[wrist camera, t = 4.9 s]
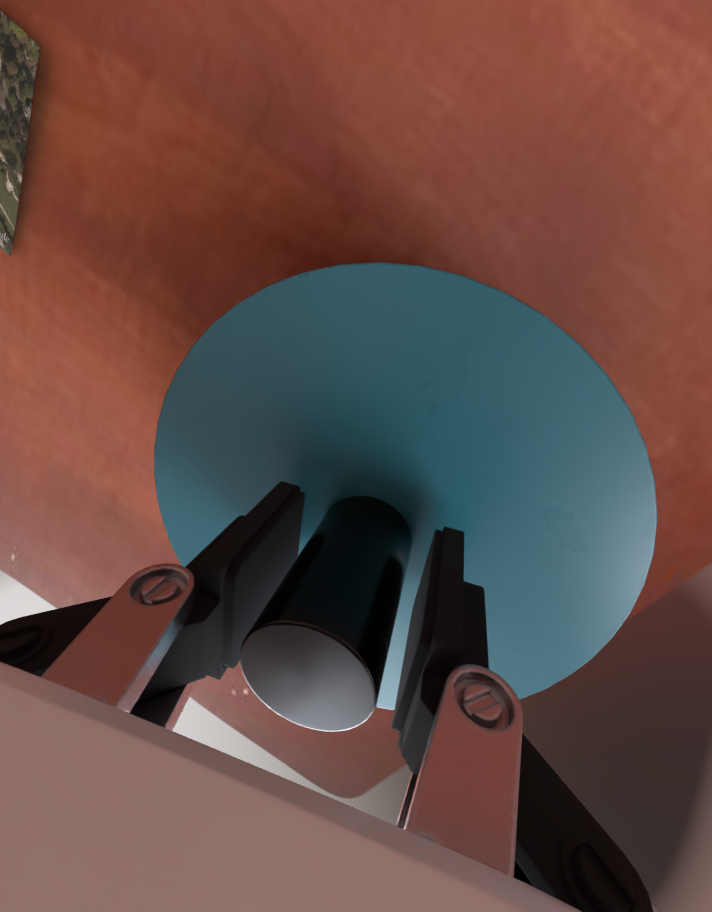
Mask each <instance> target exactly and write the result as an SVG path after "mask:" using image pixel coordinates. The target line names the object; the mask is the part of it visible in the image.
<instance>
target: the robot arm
mask: <svg viewBox="0 0 712 912" xmlns="http://www.w3.org/2000/svg"><path fill="white" fill-rule="evenodd" d="M304 501H305V493H304V492H301V491H300V487H299V486H298V485H294V484H290V483H287V482H283V481H281V482H279V483H278V484H277V485H276V486H275V487H274V488H273V489H272V490H271V491H270V492H269V493H268V494H267V495H266V496H265V497H264V498H263V499H262V500H261V501H260V502H259V503H258V504H257V505H256V506H255V507H254V508H253V509H252V510H251V511H250V512H249V513H248V514H247V515H240V516H238V517H237V518H236V519H235V520H234V521H233V522H232V523H231V524H229V525H228V526H227V527H226V528H225V529H224V530H223V531H222V532H221V533H220V534H219V535H218V536H217V537H216V538H215V539H214V540H213V541H212V542H211V543H210V544H208V545H207V546H206V547H205V548H204V549H203V550H202V551H201V552H200V553H199V554H198V555H197V556H196V557H195V558H194V559H193V560H192V561H191V562H190V563H189V564H188V565H186V566H185V567H183V566H180V565H177V564H158V565H153V566H150V567H147V568H144V569H142V570H140V571H138V572H137V573H135V574H134V575H133V576H131V577H130V578H129V579H128V580H127V581H126V582H125V583H124V584H123V585H122V587H121V588H120V589H119V590H118V591H117V592H116V593H115V594H114V595H113V596H112V597H108V598H103V599H99V600H94V601H90V602H86V603H81V604H77V605H73V606H68V607H64V608H59V609H55V610H51V611H46V612H42V613H38V614H33V615H29V616H25V617H21V618H17V619H14V620H11V621H8V622H5V623H3V624H1V625H0V912H660V911H659V910H658V909H657V908H656V907H655V906H654V905H653V904H652V903H651V902H650V898H649V895H648V892H647V890H646V888H645V886H644V885H643V883H642V881H641V879H640V877H639V875H638V873H637V871H636V870H635V868H634V867H633V866H632V864H631V863H630V862H629V860H628V859H627V857H626V856H625V855H624V853H623V852H622V851H621V850H620V848H618V846H617V845H616V844H615V843H614V842H613V840H612V839H611V838H610V837H609V835H608V834H607V833H606V832H605V831H604V830H603V828H602V827H601V826H600V825H599V824H598V822H597V821H596V820H595V819H594V818H593V816H592V815H591V814H590V813H589V812H588V811H587V809H586V808H585V807H584V806H583V805H582V804H581V802H580V801H579V800H578V799H577V797H576V796H575V795H574V794H573V793H572V792H571V790H570V789H569V788H568V787H567V786H566V784H565V783H564V782H563V781H562V780H561V779H560V777H559V776H558V775H557V774H556V773H555V771H554V770H553V769H552V768H551V767H550V765H549V764H548V763H547V762H546V761H545V760H544V758H543V757H542V756H541V755H540V754H539V752H537V750H536V749H535V748H534V747H533V745H532V744H531V743H530V742H529V741H528V739H527V738H526V737H525V736H524V735H523V733H522V727H523V714H522V706H521V704H520V702H519V699H518V697H517V695H516V693H515V692H514V691H513V689H512V688H511V686H510V685H509V684H508V683H507V682H506V681H505V680H504V679H503V678H502V677H501V676H499V675H498V674H496V673H495V672H493V671H491V670H490V669H489V659H488V642H487V625H486V608H485V592H484V588H483V587H482V586H478V585H475V584H472V583H468V582H465V581H464V531H460V530H456V529H453V528H449V527H445V526H444V528H443V531H441V530H437V529H436V530H435V532H434V535H433V539H432V542H431V546H430V549H429V553H428V556H427V560H426V563H425V566H424V570H423V573H422V577H421V580H420V584H419V587H418V590H417V594H416V597H415V601H414V605H413V609H412V614H411V619H410V625H409V631H408V636H407V642H406V648H405V653H404V659H403V665H402V670H401V676H400V682H399V687H398V693H397V699H396V704H395V710H394V716H393V721H392V729H394V730H397V731H399V732H400V734H399V740H398V746H397V748H398V749H401V754H402V756H403V758H404V759H405V761H406V763H407V764H408V766H409V768H410V770H411V771H412V773H411V776H410V780H409V783H408V787H407V790H406V793H405V798H404V801H403V804H402V807H401V810H400V814H399V817H398V821H397V824H396V826H395V825H393V824H390V823H388V822H386V821H383V820H381V819H379V818H376V817H374V816H372V815H369V814H367V813H365V812H362V811H360V810H358V809H355V808H353V807H351V806H348V805H346V804H344V803H341V802H339V801H337V800H334V799H332V798H329V797H327V796H325V795H323V794H320V793H318V792H316V791H313V790H311V789H309V788H306V787H304V786H301V785H299V784H297V783H294V782H292V781H289V780H287V779H285V778H282V777H280V776H278V775H275V774H273V773H271V772H268V771H266V770H263V769H261V768H259V767H256V766H254V765H252V764H249V763H247V762H244V761H242V760H240V759H237V758H235V757H233V756H230V755H228V754H225V753H223V752H221V751H218V750H216V749H214V748H211V747H209V746H206V745H204V744H202V743H199V742H197V741H194V740H192V739H189V738H187V737H185V736H183V735H180V734H177V733H175V732H173V731H172V730H173V728H174V726H175V724H176V722H177V720H178V718H179V716H180V714H181V712H182V710H183V708H184V706H185V704H186V702H187V700H188V698H189V696H190V694H191V692H192V690H193V688H194V685H195V682H196V681H197V680H199V679H202V678H205V677H206V675H208V676H211V677H213V678H216V679H219V680H220V679H221V677H222V676H223V674H224V673H225V671H226V669H227V668H228V667H230V668H232V669H233V668H234V667H235V666H236V665H237V664H238V662H239V661H240V651H241V646H242V643H243V640H244V639H245V637H246V635H247V634H248V632H249V631H250V629H251V628H252V626H253V625H254V623H255V621H256V620H257V618H258V617H259V615H260V614H261V612H262V611H263V609H264V608H265V606H266V605H267V603H268V602H269V600H270V599H271V597H272V595H273V594H274V592H275V591H276V589H277V588H278V586H279V585H280V583H281V582H282V580H283V579H284V577H285V576H286V574H287V573H288V571H289V569H290V568H291V566H292V565H293V563H294V562H295V560H296V559H297V557H298V551H299V543H300V534H301V526H302V517H303V509H304Z"/></svg>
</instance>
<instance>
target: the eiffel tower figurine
mask: <svg viewBox="0 0 712 912" xmlns="http://www.w3.org/2000/svg"><path fill="white" fill-rule="evenodd" d="M39 51H40V45H39V44H38V43H37V42H36V41H34V40H33V39H32V38H31V37H30V36H29V35H28V34H27V33H26V32H24V31H23V30H22V29H21V28H20V27H19V26H18V25H17V24H16V23H14V22H13V21H12V20H11V19H10V18H9V17H8V16H6V15H5V14H4V13H3V12H2V11H1V10H0V248H1V249H3V250H4V251H5V252H7V253H8V254H9V255H10V256H11V250H12V244H13V237H14V231H15V225H16V219H17V212H18V205H19V198H20V190H21V183H22V176H23V169H24V162H25V155H26V147H27V140H28V131H29V123H30V115H31V107H32V98H33V90H34V83H35V75H36V69H37V63H38V57H39Z"/></svg>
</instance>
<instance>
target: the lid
mask: <svg viewBox="0 0 712 912" xmlns="http://www.w3.org/2000/svg"><path fill="white" fill-rule="evenodd" d="M154 475H155V483H156V491H157V499H158V503H159V507H160V511H161V515H162V519H163V523H164V526H165V529H166V531H167V534H168V537H169V539H170V542H171V545H172V547H173V549H174V551H175V553H176V555H177V557H178V559H179V561H180V563H181V565H182V566H183V567H185V566H186V565H188V564H189V563H190V562H191V561H192V560H193V559H194V558H195V557H196V556H197V555H198V554H199V553H200V552H201V551H202V550H203V549H204V548H205V547H206V546H207V545H208V544H210V543H211V542H212V541H213V540H214V539H215V538H216V537H217V536H218V535H219V534H220V533H221V532H222V531H223V530H224V529H225V528H226V527H227V526H228V525H229V524H231V523H232V522H233V521H234V520H235V519H236V518H237V517H238V516H240V515H247V514H248V513H249V512H250V511H251V510H252V509H253V508H254V507H255V506H256V505H257V504H258V503H259V502H260V501H261V500H262V499H263V498H264V497H265V496H266V495H267V494H268V493H269V492H270V491H271V490H272V489H273V488H274V487H275V486H276V485H277V484H278V483H279V482H281V481H283V482H287V483H290V484H294V485H298V486H299V487H300V491H301V492H304V493H305V501H304V509H303V517H302V526H301V534H300V543H299V551H298V557H297V559H296V560H295V562H294V563H293V565H292V566H291V568H290V569H289V571H288V573H287V574H286V576H285V577H284V579H283V580H282V582H281V583H280V585H279V586H278V588H277V589H276V591H275V592H274V594H273V595H272V597H271V599H270V600H269V602H268V603H267V605H266V606H265V608H264V609H263V611H262V612H261V614H260V615H259V617H258V618H257V620H256V621H255V623H254V625H253V626H252V628H251V629H250V631H249V632H248V634H247V635H246V637H245V639H244V640H243V643H242V646H241V651H240V664H241V669H242V672H243V675H244V677H245V679H246V681H247V683H248V685H249V686H250V688H251V689H252V690H253V692H254V693H255V694H256V695H257V696H258V698H259V699H260V700H261V701H262V702H263V703H265V704H266V705H267V706H268V707H269V708H270V709H272V710H273V711H274V712H276V713H277V714H279V715H281V716H282V717H284V718H286V719H288V720H290V721H292V722H294V723H296V724H298V725H301V726H304V727H307V728H311V729H315V730H321V731H343V730H348V729H351V728H354V727H357V726H359V725H360V724H362V723H363V722H365V721H366V720H367V719H368V718H369V717H370V716H371V714H372V713H373V711H374V710H375V707H380V708H384V709H391V710H395V704H396V699H397V693H398V687H399V682H400V676H401V670H402V665H403V659H404V653H405V648H406V642H407V636H408V631H409V625H410V619H411V614H412V609H413V605H414V601H415V597H416V594H417V590H418V587H419V584H420V580H421V577H422V573H423V570H424V566H425V563H426V560H427V556H428V553H429V549H430V546H431V542H432V539H433V535H434V532H435V530H436V529H437V530H441V531H443V528H444V526H445V527H449V528H453V529H456V530H460V531H464V581H465V582H468V583H472V584H475V585H478V586H482V587H483V588H484V592H485V608H486V625H487V642H488V659H489V669H490V670H491V671H493V672H495V673H496V674H498V675H499V676H501V677H502V678H503V679H504V680H505V681H506V682H507V683H508V684H509V685H510V686H511V688H512V689H513V691H514V692H515V693H516V695H517V697H518V699H522V698H524V697H527V696H529V695H532V694H534V693H537V692H539V691H542V690H544V689H546V688H548V687H549V686H551V685H553V684H555V683H557V682H558V681H560V680H562V679H564V678H566V677H567V676H569V675H570V674H572V673H573V672H574V671H576V670H577V669H578V668H580V667H581V666H582V665H584V664H585V663H586V662H588V661H589V660H590V659H592V658H593V657H594V656H595V655H596V654H597V653H598V652H599V651H600V650H601V649H602V648H603V646H605V645H606V644H607V643H608V641H610V639H612V638H613V636H614V635H615V633H616V632H617V631H618V629H619V628H620V626H621V625H622V624H623V622H624V621H625V620H626V618H627V617H628V615H629V614H630V613H631V611H632V609H633V607H634V605H635V602H636V600H637V598H638V596H639V594H640V592H641V590H642V588H643V586H644V584H645V581H646V577H647V574H648V571H649V567H650V564H651V560H652V557H653V554H654V546H655V537H656V528H657V519H658V518H657V503H656V488H655V480H654V476H653V472H652V468H651V464H650V459H649V455H648V451H647V447H646V444H645V442H644V440H643V437H642V435H641V433H640V431H639V428H638V426H637V424H636V421H635V419H634V417H633V415H632V412H631V410H630V408H629V407H628V405H627V404H626V402H625V401H624V399H623V397H622V396H621V394H620V393H619V391H618V390H617V388H616V387H615V385H614V384H613V382H612V381H611V379H610V378H609V376H608V374H607V373H606V372H605V371H604V370H603V369H602V368H601V367H600V366H599V365H598V363H597V362H596V361H595V360H594V359H593V358H592V357H591V356H590V355H589V353H588V352H587V351H586V350H585V349H584V348H583V347H582V346H581V345H580V344H579V342H577V341H576V340H575V339H574V338H572V337H571V336H570V335H569V334H567V333H566V332H565V331H564V330H562V329H561V328H560V327H559V326H557V325H556V324H555V323H554V322H553V321H551V320H550V319H549V318H548V317H546V316H545V315H544V314H542V313H540V312H539V311H537V310H535V309H534V308H532V307H530V306H528V305H527V304H525V303H523V302H522V301H520V300H518V299H516V298H515V297H513V296H511V295H510V294H508V293H506V292H504V291H501V290H499V289H496V288H494V287H491V286H489V285H486V284H484V283H481V282H479V281H476V280H474V279H472V278H469V277H467V276H464V275H460V274H455V273H451V272H447V271H443V270H439V269H435V268H430V267H426V266H422V265H411V264H399V263H388V262H368V263H352V264H338V265H334V266H329V267H325V268H320V269H315V270H311V271H306V272H302V273H299V274H296V275H294V276H291V277H289V278H286V279H283V280H281V281H278V282H276V283H273V284H270V285H268V286H266V287H264V288H263V289H261V290H259V291H257V292H256V293H254V294H252V295H250V296H249V297H247V298H245V299H244V300H242V301H240V302H238V303H237V304H236V305H235V306H233V307H232V308H231V309H230V310H229V311H227V312H226V313H225V314H224V315H222V316H221V317H220V318H219V319H217V320H216V321H215V322H214V323H213V324H212V325H211V326H210V327H209V328H208V329H207V330H206V332H205V333H204V334H203V335H202V336H201V337H200V338H199V339H198V340H197V342H196V343H195V344H194V345H193V346H192V348H191V349H190V351H189V352H188V354H187V355H186V357H185V358H184V360H183V362H182V363H181V365H180V366H179V368H178V369H177V371H176V373H175V375H174V378H173V380H172V382H171V384H170V386H169V389H168V391H167V393H166V395H165V398H164V402H163V406H162V409H161V413H160V416H159V420H158V425H157V432H156V439H155V447H154Z"/></svg>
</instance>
